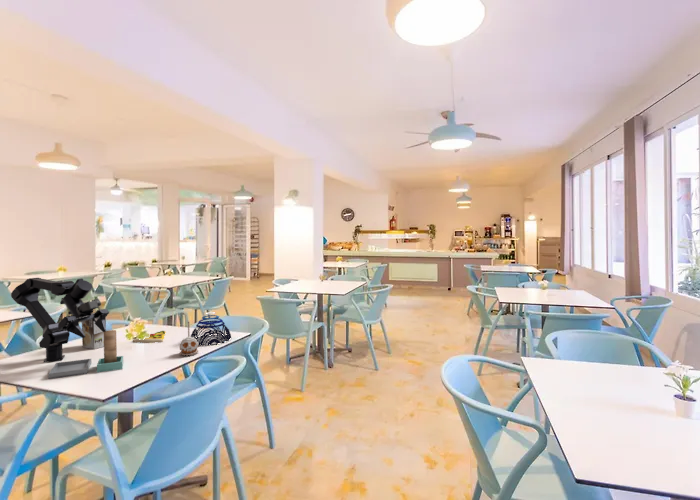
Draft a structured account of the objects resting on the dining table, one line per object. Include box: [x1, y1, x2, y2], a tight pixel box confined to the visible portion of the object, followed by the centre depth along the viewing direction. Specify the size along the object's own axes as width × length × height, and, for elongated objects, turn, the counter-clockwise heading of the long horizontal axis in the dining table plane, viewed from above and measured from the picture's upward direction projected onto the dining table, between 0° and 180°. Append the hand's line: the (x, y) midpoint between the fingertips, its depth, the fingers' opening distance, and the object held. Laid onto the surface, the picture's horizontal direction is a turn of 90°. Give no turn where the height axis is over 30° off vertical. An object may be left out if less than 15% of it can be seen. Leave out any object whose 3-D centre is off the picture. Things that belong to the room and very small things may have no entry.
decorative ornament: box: [179, 321, 199, 357], centre depth 175 cm, size 8×8×15 cm
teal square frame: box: [96, 355, 124, 373], centre depth 158 cm, size 9×9×3 cm
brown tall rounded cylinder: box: [103, 329, 118, 364], centre depth 157 cm, size 4×4×15 cm
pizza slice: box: [132, 330, 167, 344], centre depth 204 cm, size 16×21×3 cm
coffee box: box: [81, 311, 107, 350], centre depth 186 cm, size 9×6×16 cm
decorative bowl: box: [190, 311, 232, 346], centre depth 198 cm, size 20×20×14 cm
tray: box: [47, 358, 93, 380], centre depth 154 cm, size 14×12×2 cm
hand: (95, 334), depth 159 cm, fingers open, 9 cm apart
